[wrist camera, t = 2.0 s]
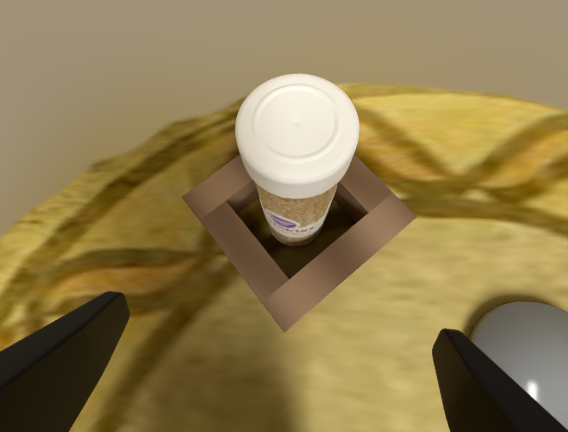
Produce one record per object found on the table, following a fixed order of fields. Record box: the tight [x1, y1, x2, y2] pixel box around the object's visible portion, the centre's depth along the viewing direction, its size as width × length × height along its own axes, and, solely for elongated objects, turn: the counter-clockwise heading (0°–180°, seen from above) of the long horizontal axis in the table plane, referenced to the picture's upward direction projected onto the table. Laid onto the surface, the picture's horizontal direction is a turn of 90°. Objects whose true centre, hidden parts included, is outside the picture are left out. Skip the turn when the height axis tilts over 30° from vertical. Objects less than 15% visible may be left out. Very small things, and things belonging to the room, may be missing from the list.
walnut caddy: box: [182, 155, 417, 332], centre depth 21 cm, size 12×12×4 cm
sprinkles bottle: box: [235, 74, 359, 246], centre depth 16 cm, size 5×5×13 cm
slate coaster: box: [469, 302, 568, 430], centre depth 19 cm, size 9×9×1 cm
